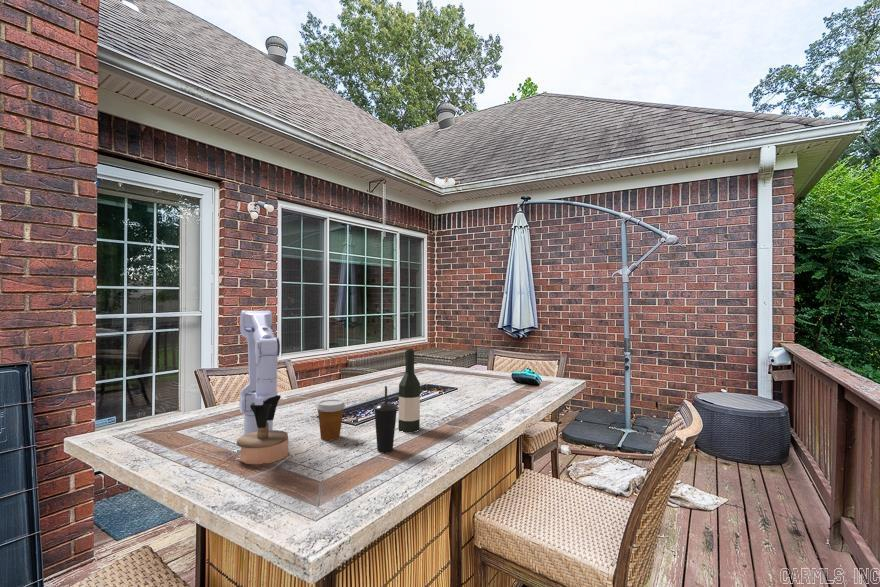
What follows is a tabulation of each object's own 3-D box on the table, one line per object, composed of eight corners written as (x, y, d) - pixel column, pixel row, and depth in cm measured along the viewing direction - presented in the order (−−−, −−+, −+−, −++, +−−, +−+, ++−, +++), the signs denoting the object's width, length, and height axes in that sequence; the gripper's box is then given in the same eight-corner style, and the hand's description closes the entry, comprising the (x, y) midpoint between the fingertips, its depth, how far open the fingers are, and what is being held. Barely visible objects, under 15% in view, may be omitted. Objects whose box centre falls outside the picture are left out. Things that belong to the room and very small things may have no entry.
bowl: (257, 448, 125) (258, 432, 126) (295, 450, 124) (295, 434, 124) (231, 463, 113) (231, 446, 113) (273, 466, 111) (273, 448, 111)
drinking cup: (392, 455, 120) (393, 389, 121) (369, 453, 122) (370, 388, 122) (400, 446, 128) (401, 384, 128) (377, 445, 129) (378, 383, 130)
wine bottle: (394, 427, 148) (395, 347, 149) (415, 425, 152) (416, 346, 153) (402, 434, 141) (403, 349, 142) (423, 431, 144) (424, 348, 145)
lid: (254, 431, 126) (254, 416, 126) (296, 433, 125) (296, 418, 125) (225, 447, 112) (226, 429, 112) (272, 449, 111) (272, 432, 111)
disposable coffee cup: (315, 443, 131) (316, 406, 131) (316, 434, 140) (317, 400, 140) (344, 440, 133) (345, 404, 134) (343, 432, 142) (344, 398, 143)
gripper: (260, 374, 126) (259, 417, 125) (244, 382, 111) (242, 431, 111) (283, 374, 127) (282, 416, 126) (270, 382, 112) (269, 430, 112)
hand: (265, 423), depth 119 cm, fingers open, 7 cm apart
